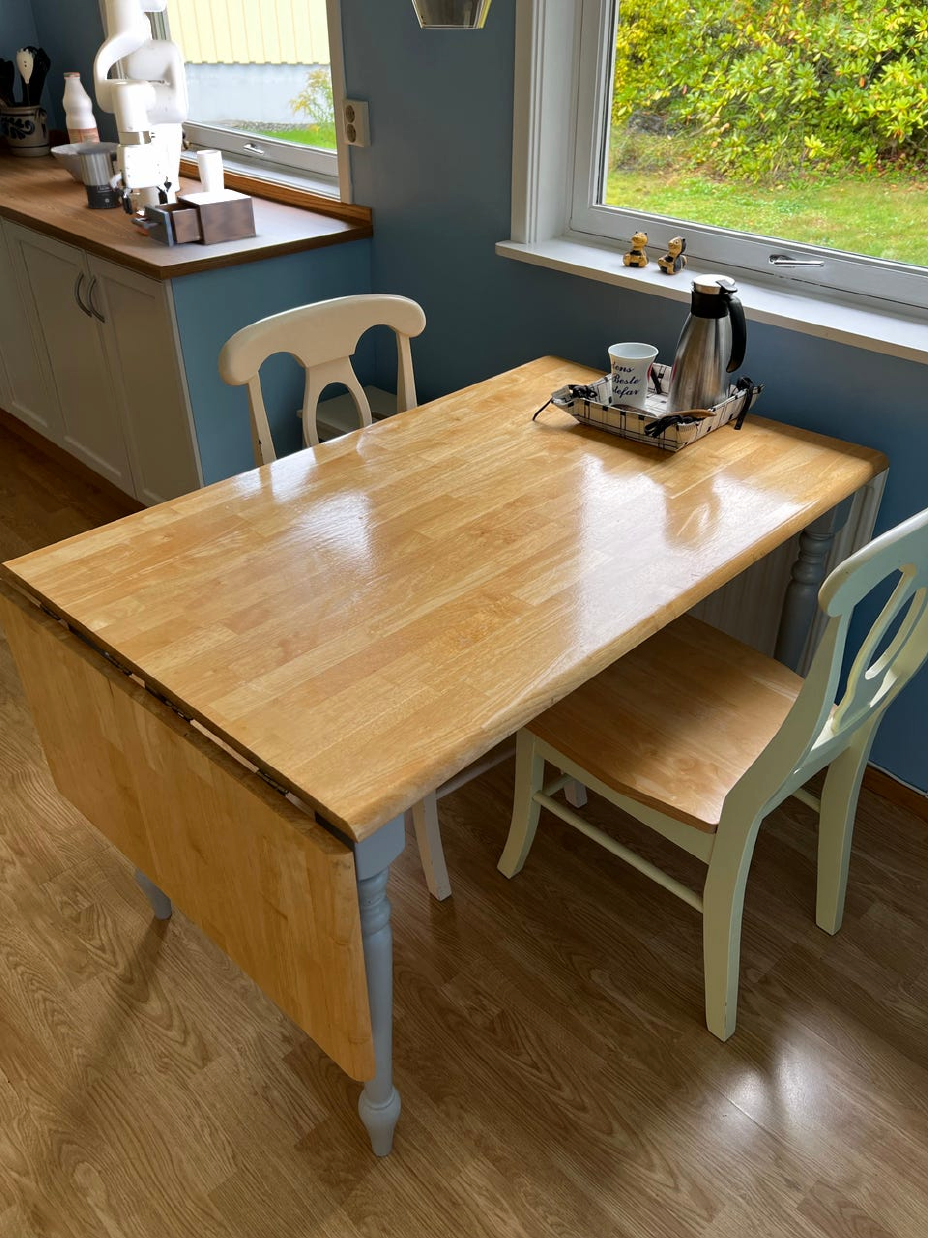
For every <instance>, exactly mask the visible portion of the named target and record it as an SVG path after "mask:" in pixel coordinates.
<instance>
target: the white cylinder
mask: <svg viewBox="0 0 928 1238" xmlns="http://www.w3.org/2000/svg"><path fill="white" fill-rule="evenodd" d="M196 161H197V168H198V173H199V177H200V181H201V186H202V191H203V193H205V192H212V191H219V190H225V181H224V180H225V179H224V165H223V164H224V163H223V156H222V151H220V150H217V149H205V150H199V151H197V152H196Z"/></svg>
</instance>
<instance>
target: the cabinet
mask: <svg viewBox="0 0 928 1238" xmlns="http://www.w3.org/2000/svg"><path fill="white" fill-rule="evenodd" d="M176 202H185V203H188V204H190V205H193V206H196V207H199V214H200V221H201V228H202V235H203V239H200V240H194V241H193V242H197V243H199V244H202V245H204V246H208V245H215V244H219V243H225V242H231V241H238V240H244V239H250V238H255V237H256V236H257V234H256V233H257V232H256V225H255V215H254V214H255V213H254V208H253V207H254V206H253V197H252V196H249V195H246V194H243V193H240V192H237V191H234V190H231V189H224V190H219V191H212V192H205V193H204V192H199V193H192V194H184V195H178V196H176Z"/></svg>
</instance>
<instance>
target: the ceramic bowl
mask: <svg viewBox="0 0 928 1238" xmlns="http://www.w3.org/2000/svg"><path fill="white" fill-rule="evenodd" d="M118 145H120V143H117V142H110V141H109V142H108V141H107V142H105V141H99V142H83V143H75V144H71V143H70V144H69V143H68V144H63V145H58V146H53V147H51V149H50V152H51V154H53V156H54V157H55V159H56V160H57V162H59V164H60V165H61V167H63V169H64V170H65V171H66V173H68V174H70V176H71V177H72V178H73V179H74V180H76V181H77V182H80V183H84V179H83V174H82V170H81V165H80V160H79V156H78V154H77V153H76V152H77V151H78V150H80V149H86V148H109V149H110V151H109V153H117V146H118ZM113 166H114V171H115V174H117V173H118V166H117V161H113Z"/></svg>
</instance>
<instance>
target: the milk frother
mask: <svg viewBox="0 0 928 1238" xmlns="http://www.w3.org/2000/svg"><path fill="white" fill-rule="evenodd" d="M109 151H110V149H109V148H86V149H80V150H78V151H77V152H76V153H77V154H78V156H79V160H80V165H81V170H82V174H83V179H84V182H83V183H84V187H85V188H84V189H85V194H86V199H87V207H88V208H91V209H100V210H101V209H112V208H115V207H119V206H121V205H122V202H121V201H120V199H121V197H120V196H119V195H118V194H117V193H116V192H114V191H113V189H112V187H111V186H110V184H109V183H108V180H109V179H110V178H111V177H113V176H114V175H115V171H114V166H113V161H117V153H109ZM116 184H117V186H118V188H120V186H119V185H118V182H117V183H116ZM130 193H134V189H132V190H131V192H130Z"/></svg>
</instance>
